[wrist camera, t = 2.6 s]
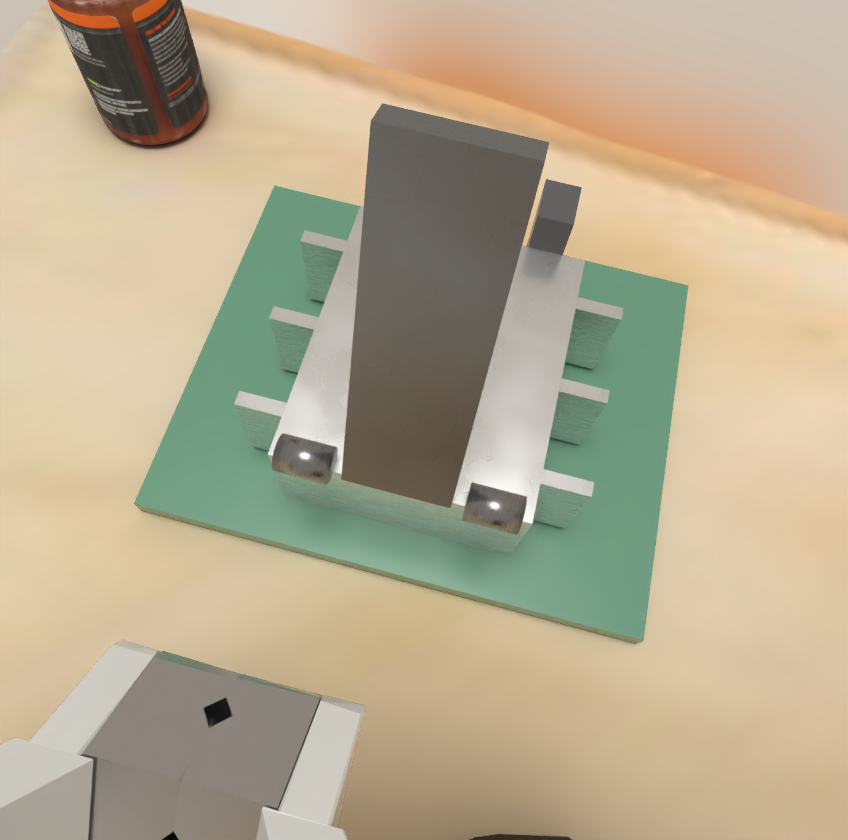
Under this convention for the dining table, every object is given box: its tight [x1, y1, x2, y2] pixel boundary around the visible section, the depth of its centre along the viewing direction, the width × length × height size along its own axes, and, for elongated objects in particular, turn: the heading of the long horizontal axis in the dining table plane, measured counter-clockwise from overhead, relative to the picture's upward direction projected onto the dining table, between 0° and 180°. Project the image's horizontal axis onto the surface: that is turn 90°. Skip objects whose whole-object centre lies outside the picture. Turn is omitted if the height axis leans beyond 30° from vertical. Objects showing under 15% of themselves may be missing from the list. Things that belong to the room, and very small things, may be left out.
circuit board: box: [134, 186, 688, 644], centre depth 34 cm, size 22×18×1 cm
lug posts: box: [527, 179, 582, 255], centre depth 33 cm, size 8×2×7 cm, turn 76°
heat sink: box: [234, 206, 623, 556], centre depth 30 cm, size 14×13×6 cm
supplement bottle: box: [48, 0, 208, 145], centre depth 36 cm, size 6×6×11 cm
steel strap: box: [341, 104, 549, 508], centre depth 21 cm, size 4×13×1 cm
